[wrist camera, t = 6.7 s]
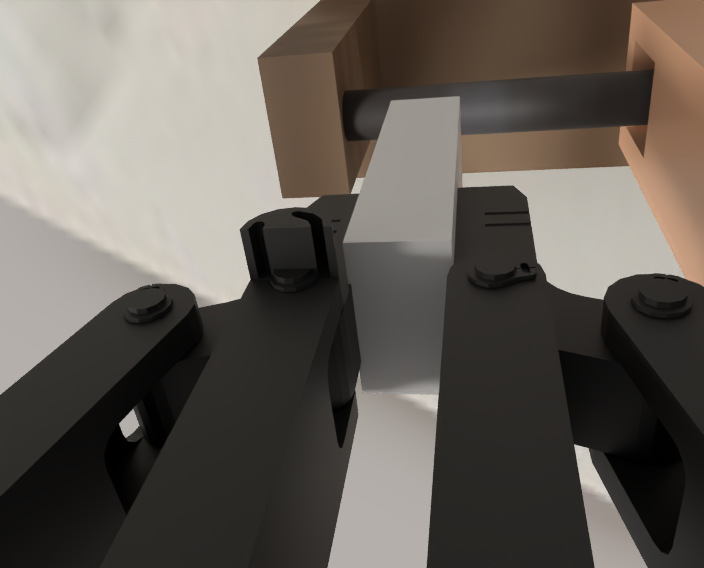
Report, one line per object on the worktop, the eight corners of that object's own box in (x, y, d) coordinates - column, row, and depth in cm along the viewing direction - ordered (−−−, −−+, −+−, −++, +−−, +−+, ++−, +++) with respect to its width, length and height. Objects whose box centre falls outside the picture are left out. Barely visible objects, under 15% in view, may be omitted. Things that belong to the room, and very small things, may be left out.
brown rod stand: (1029, -183, 20) (1453, -215, 11) (920, 137, 25) (1155, 284, 17) (316, -95, 24) (227, -69, 16) (348, 164, 30) (294, 294, 21)
